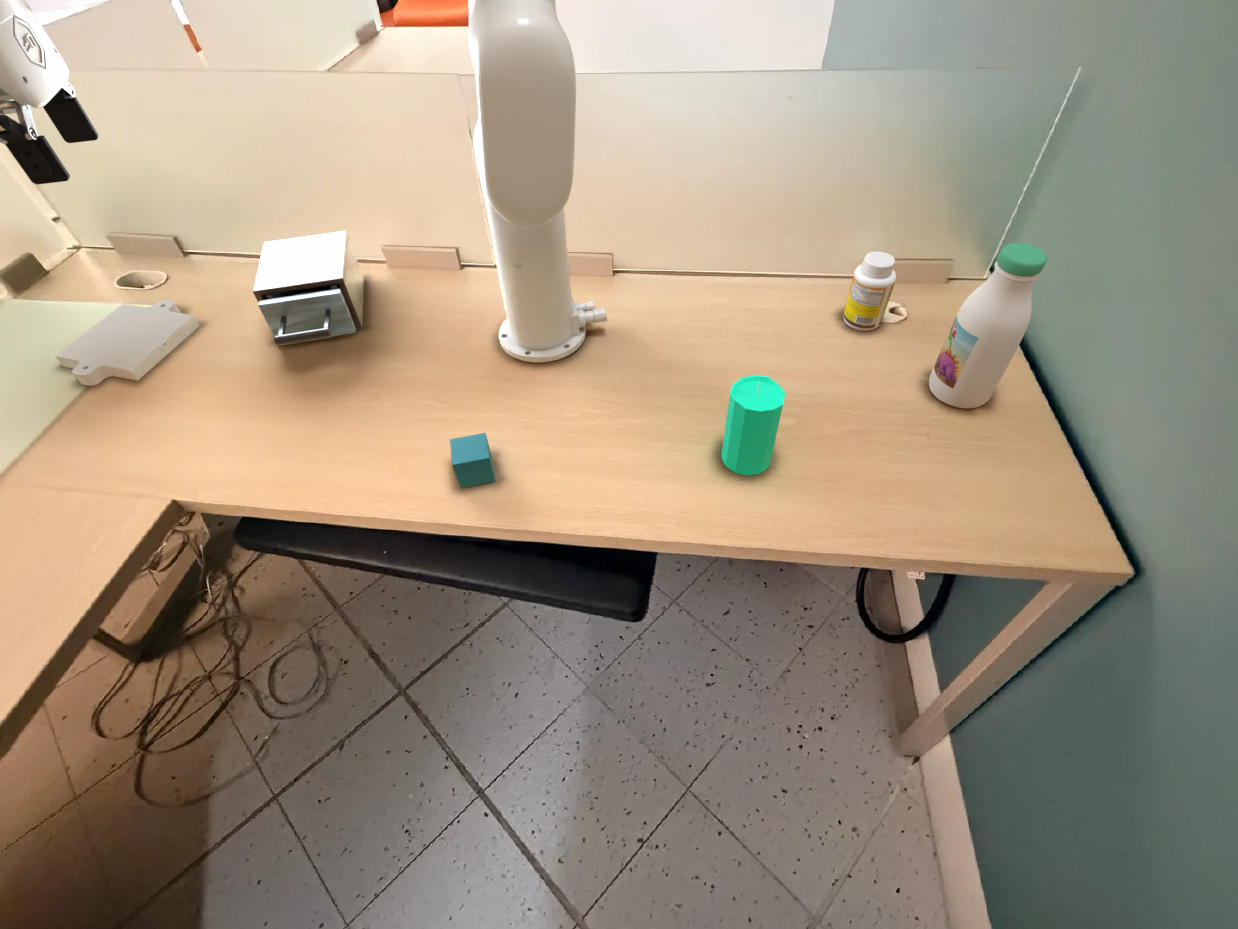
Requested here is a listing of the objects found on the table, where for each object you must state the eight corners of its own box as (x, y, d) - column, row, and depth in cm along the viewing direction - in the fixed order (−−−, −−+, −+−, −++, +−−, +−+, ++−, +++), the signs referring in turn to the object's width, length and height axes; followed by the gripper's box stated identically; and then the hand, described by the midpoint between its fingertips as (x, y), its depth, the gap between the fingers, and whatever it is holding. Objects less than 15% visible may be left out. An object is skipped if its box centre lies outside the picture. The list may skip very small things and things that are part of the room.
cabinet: (362, 328, 98) (342, 278, 91) (278, 341, 96) (252, 291, 90) (364, 279, 107) (346, 230, 100) (287, 290, 105) (263, 241, 98)
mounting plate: (124, 392, 89) (115, 382, 88) (49, 377, 92) (39, 367, 90) (210, 316, 101) (204, 305, 99) (142, 304, 103) (135, 294, 102)
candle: (739, 482, 76) (752, 408, 67) (711, 449, 80) (720, 374, 71) (781, 464, 78) (799, 389, 69) (752, 432, 81) (766, 357, 72)
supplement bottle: (864, 306, 98) (883, 244, 91) (889, 326, 95) (910, 263, 87) (834, 315, 97) (850, 253, 89) (857, 336, 93) (876, 273, 86)
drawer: (354, 357, 92) (338, 317, 87) (274, 370, 90) (252, 330, 85) (358, 286, 104) (343, 247, 99) (286, 296, 102) (268, 257, 97)
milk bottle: (991, 379, 87) (1065, 241, 72) (987, 417, 82) (1064, 278, 67) (931, 365, 89) (989, 228, 74) (923, 400, 84) (983, 262, 69)
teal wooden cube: (491, 456, 80) (485, 432, 77) (495, 481, 77) (489, 457, 74) (457, 462, 79) (449, 438, 76) (459, 488, 77) (452, 464, 73)
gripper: (-65, -33, 48) (83, 194, 61) (20, -77, 59) (130, 122, 72) (-182, -24, 47) (-5, 205, 60) (-73, -70, 58) (56, 131, 71)
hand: (68, 159), depth 66 cm, fingers open, 9 cm apart
